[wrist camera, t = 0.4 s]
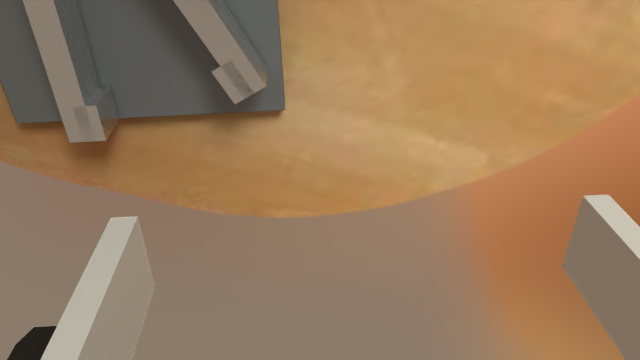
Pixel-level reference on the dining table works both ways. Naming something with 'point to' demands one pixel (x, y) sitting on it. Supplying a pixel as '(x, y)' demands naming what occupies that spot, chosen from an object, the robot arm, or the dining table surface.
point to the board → (141, 59)
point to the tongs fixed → (72, 70)
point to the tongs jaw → (226, 47)
